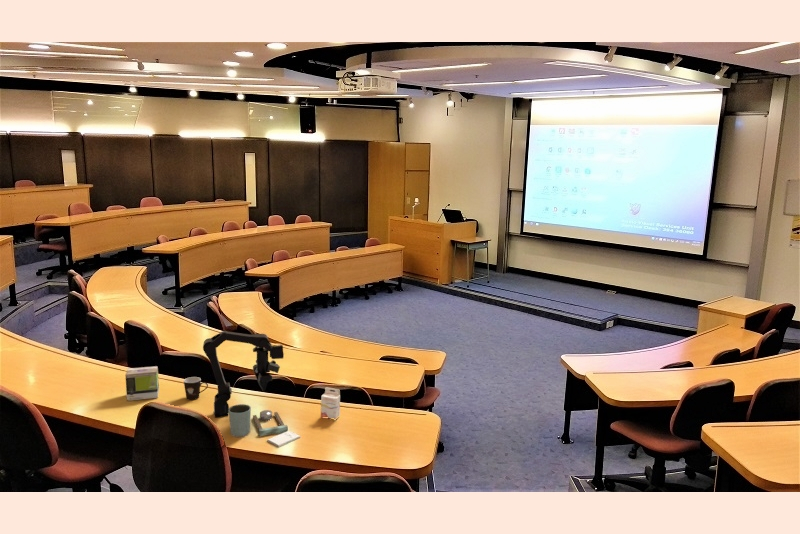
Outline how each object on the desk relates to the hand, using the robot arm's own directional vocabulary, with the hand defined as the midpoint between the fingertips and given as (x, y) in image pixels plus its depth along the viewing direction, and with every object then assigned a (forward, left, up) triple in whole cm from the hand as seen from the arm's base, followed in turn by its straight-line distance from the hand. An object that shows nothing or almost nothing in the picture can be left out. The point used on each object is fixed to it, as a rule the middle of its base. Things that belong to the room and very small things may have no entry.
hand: (262, 388), depth 287 cm
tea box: (-55, +40, -12) cm, 69 cm away
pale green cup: (-14, -20, -12) cm, 28 cm away
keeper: (0, -9, -12) cm, 15 cm away
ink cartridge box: (+30, -19, -12) cm, 38 cm away
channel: (0, -16, -12) cm, 20 cm away
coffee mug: (-30, +28, -12) cm, 43 cm away
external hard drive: (+3, -34, -13) cm, 37 cm away
